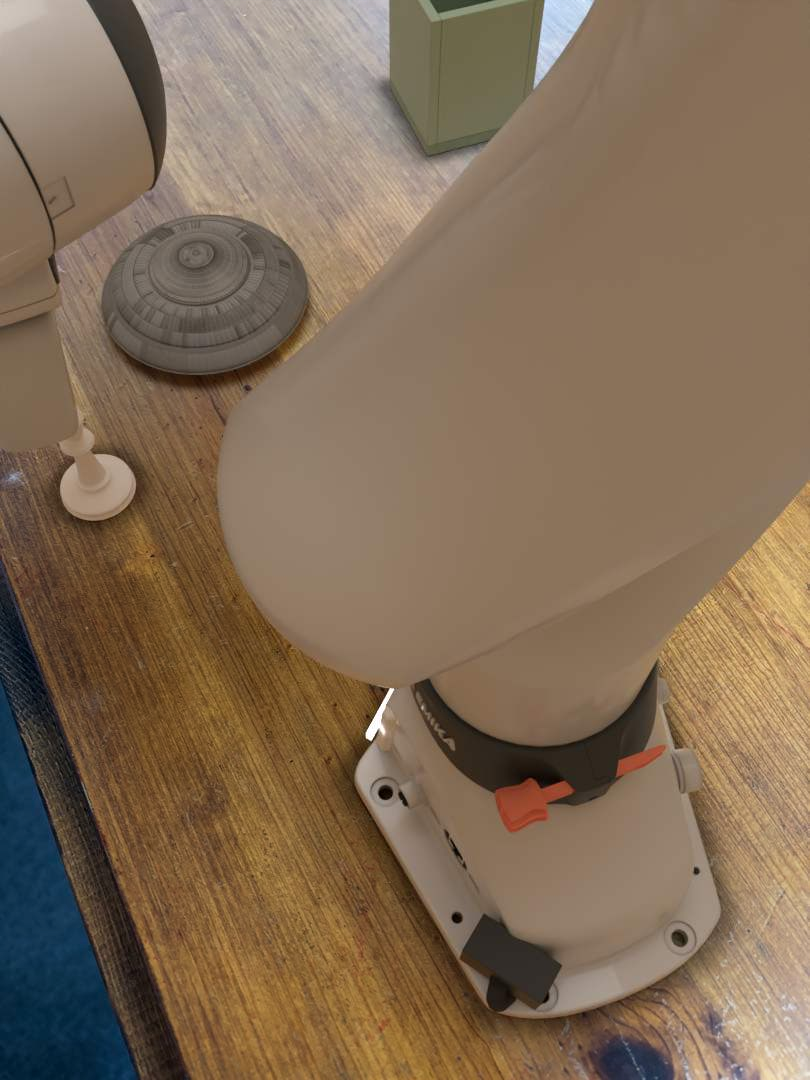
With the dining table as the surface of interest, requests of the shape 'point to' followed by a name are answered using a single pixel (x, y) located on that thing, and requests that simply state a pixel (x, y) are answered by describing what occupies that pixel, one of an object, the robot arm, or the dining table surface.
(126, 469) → the chess piece
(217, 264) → the flying saucer
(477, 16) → the bin
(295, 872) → the dining table surface
